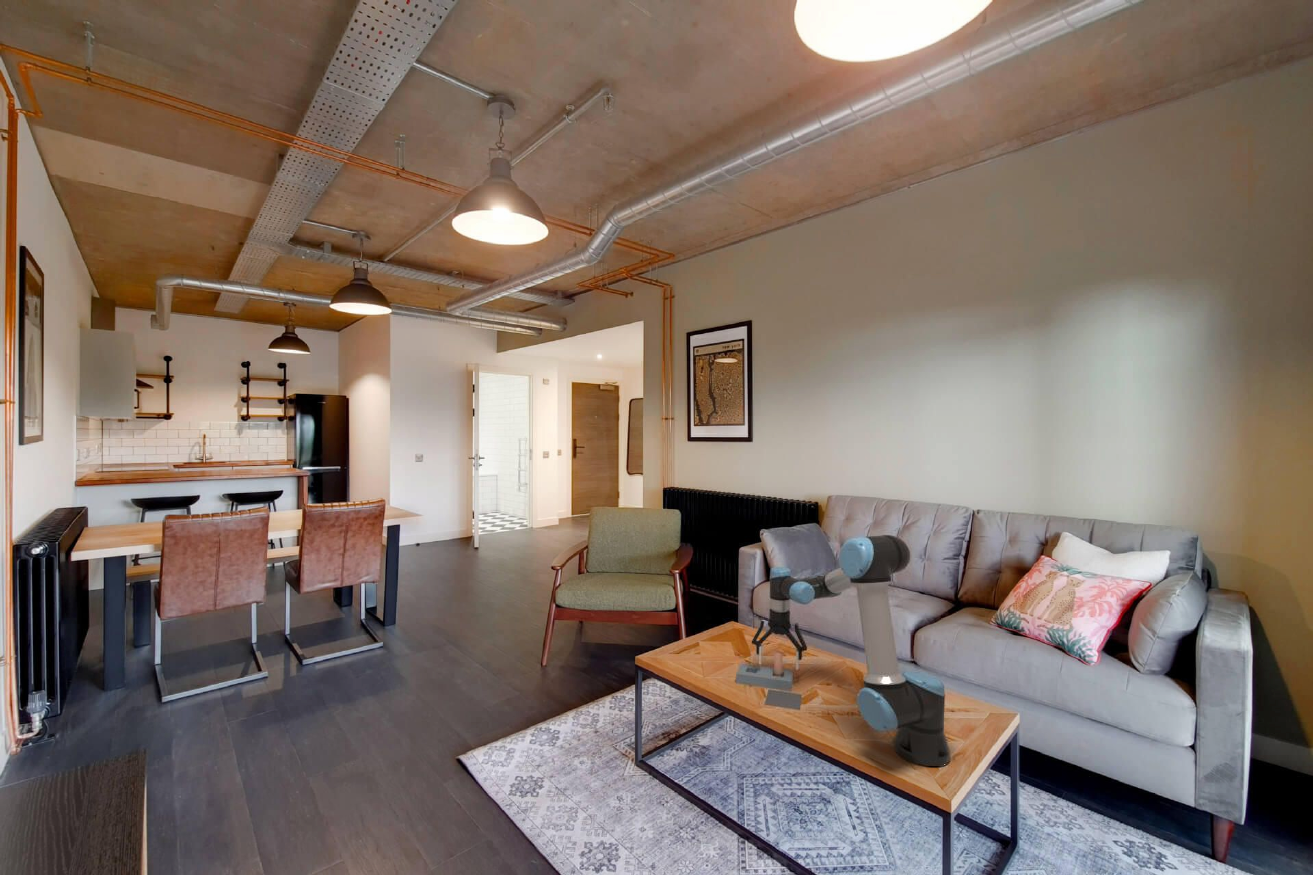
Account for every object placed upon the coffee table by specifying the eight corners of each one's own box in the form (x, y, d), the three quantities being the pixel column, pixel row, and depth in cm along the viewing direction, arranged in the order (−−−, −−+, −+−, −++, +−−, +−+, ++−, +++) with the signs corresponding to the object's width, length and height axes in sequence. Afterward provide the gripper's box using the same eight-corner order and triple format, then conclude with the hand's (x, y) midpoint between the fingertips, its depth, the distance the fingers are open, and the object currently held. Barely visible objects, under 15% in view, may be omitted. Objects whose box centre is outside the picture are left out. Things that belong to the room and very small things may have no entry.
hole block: (791, 692, 205) (791, 681, 205) (736, 684, 211) (736, 673, 211) (793, 680, 214) (793, 670, 214) (740, 673, 220) (740, 663, 220)
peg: (781, 686, 209) (782, 654, 209) (773, 685, 210) (773, 653, 210) (782, 683, 212) (782, 651, 212) (774, 682, 213) (774, 650, 213)
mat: (800, 711, 191) (800, 709, 191) (764, 705, 195) (764, 704, 195) (802, 695, 203) (802, 694, 203) (768, 690, 206) (768, 689, 206)
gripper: (814, 609, 211) (813, 666, 211) (747, 602, 218) (746, 657, 218) (813, 616, 203) (812, 674, 204) (744, 608, 211) (743, 664, 211)
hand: (778, 665), depth 211 cm, fingers open, 13 cm apart
